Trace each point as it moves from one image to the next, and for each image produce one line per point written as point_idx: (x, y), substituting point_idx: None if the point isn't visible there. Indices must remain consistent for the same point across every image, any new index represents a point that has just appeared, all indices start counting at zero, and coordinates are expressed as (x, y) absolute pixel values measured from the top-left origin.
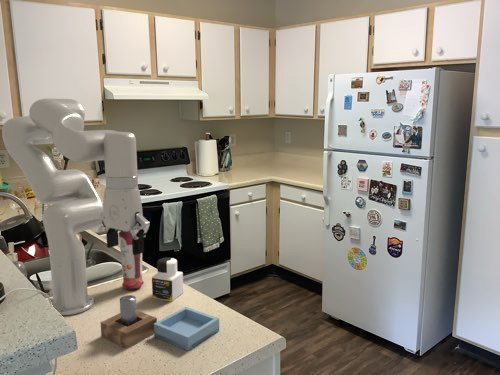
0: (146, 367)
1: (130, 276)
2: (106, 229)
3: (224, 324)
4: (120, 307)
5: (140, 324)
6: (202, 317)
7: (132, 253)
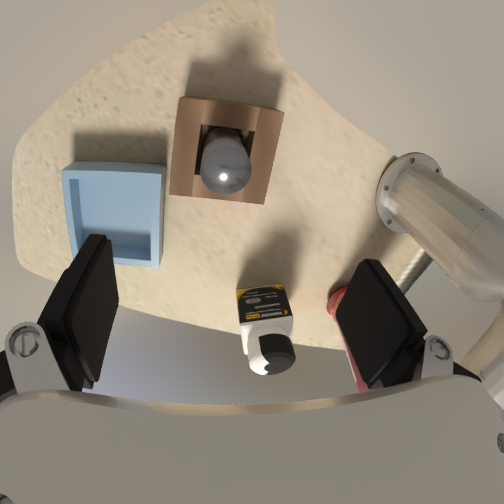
0: (102, 72)
1: None
2: (437, 354)
3: None
4: (237, 144)
5: (179, 149)
6: None
7: None
